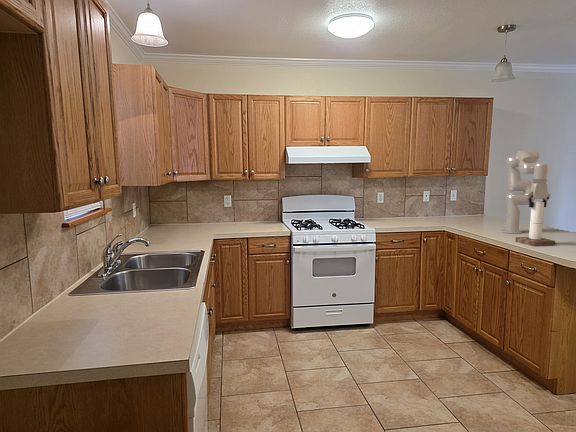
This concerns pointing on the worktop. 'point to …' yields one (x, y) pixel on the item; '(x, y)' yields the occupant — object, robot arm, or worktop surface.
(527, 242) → the walnut base
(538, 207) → the cylindrical container
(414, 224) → the worktop surface
